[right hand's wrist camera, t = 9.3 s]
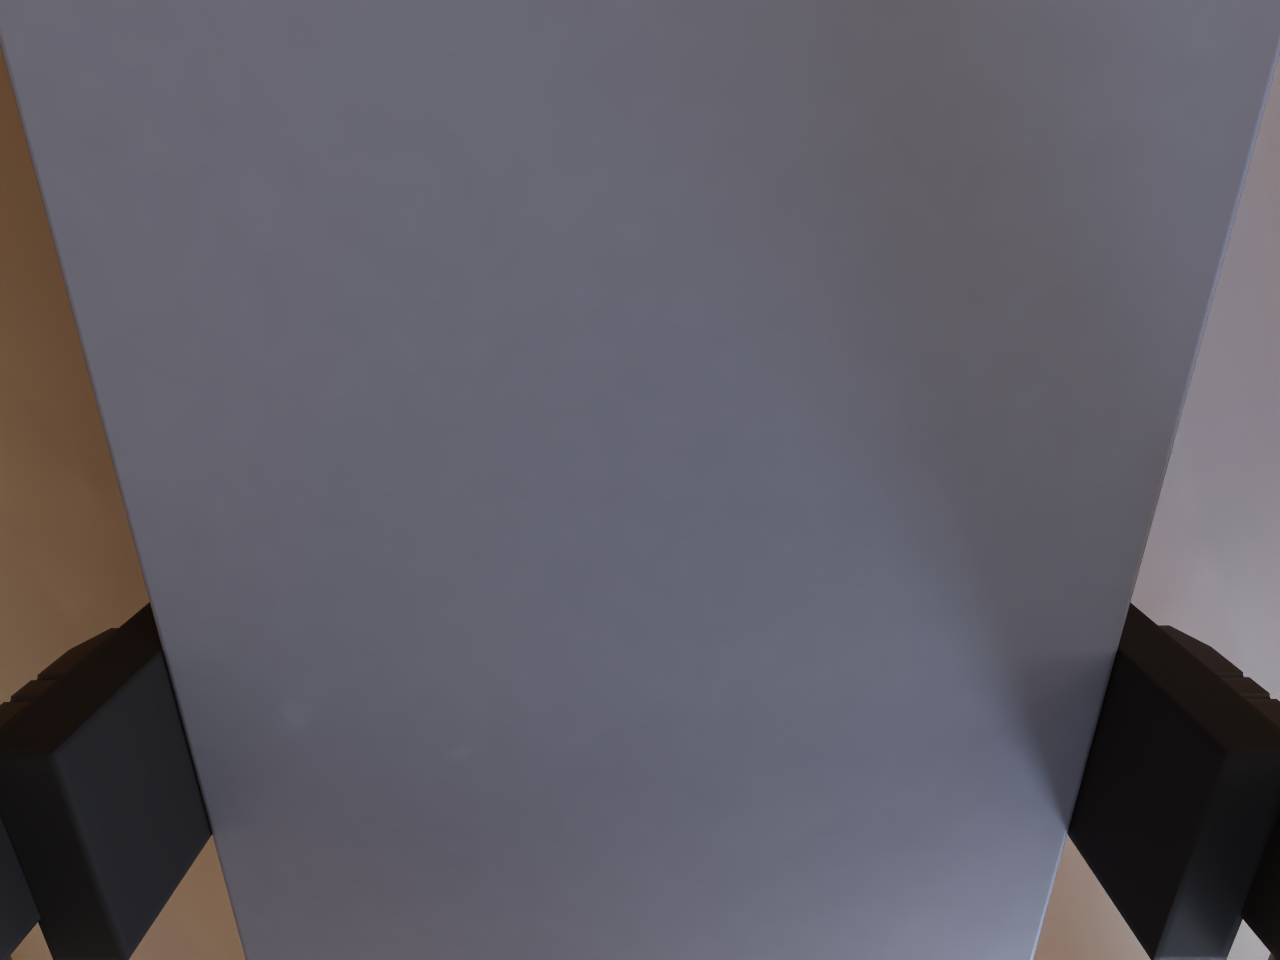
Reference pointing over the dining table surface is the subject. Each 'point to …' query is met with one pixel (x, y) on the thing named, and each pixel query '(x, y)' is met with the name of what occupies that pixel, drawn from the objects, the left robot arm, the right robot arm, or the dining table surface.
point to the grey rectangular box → (640, 440)
